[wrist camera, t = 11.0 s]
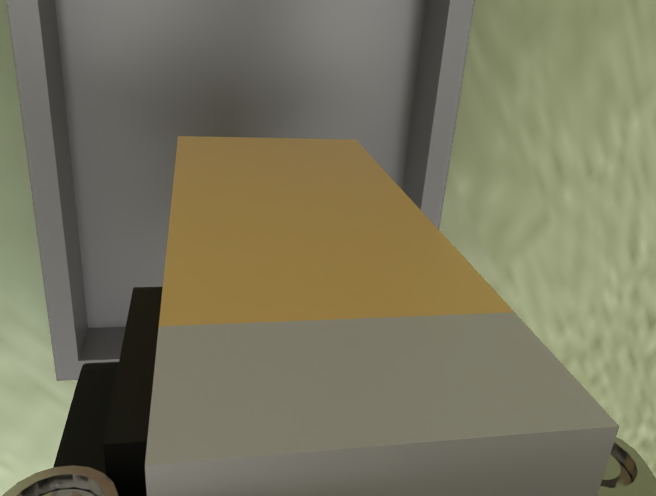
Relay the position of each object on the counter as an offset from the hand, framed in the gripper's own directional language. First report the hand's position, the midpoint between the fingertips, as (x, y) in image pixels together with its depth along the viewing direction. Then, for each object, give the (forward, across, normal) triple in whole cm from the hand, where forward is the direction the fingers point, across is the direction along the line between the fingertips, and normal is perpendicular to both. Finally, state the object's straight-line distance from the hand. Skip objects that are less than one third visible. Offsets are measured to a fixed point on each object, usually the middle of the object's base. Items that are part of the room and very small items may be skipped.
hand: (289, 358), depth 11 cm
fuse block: (+4, 0, 0) cm, 4 cm away
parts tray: (+13, 0, 0) cm, 13 cm away
